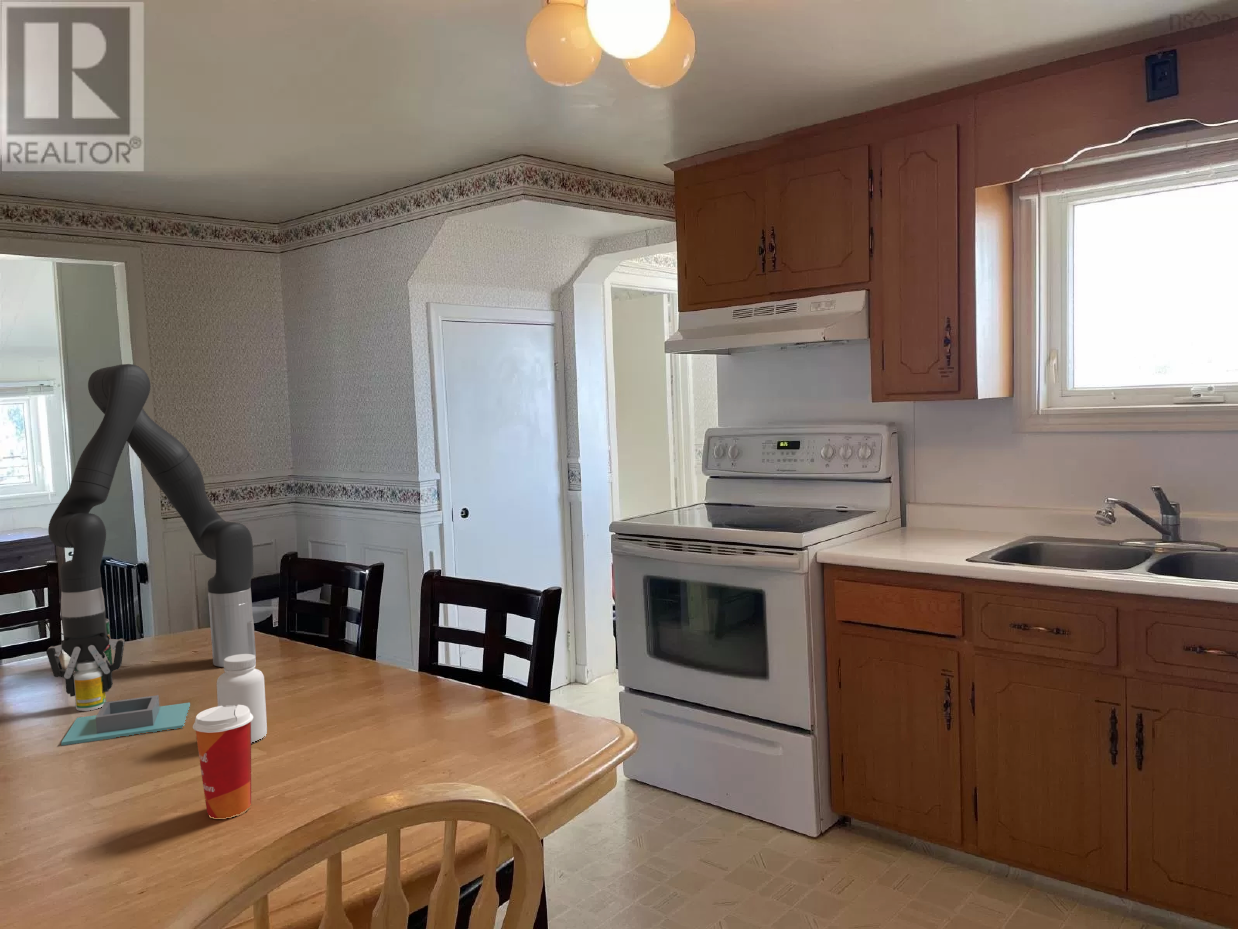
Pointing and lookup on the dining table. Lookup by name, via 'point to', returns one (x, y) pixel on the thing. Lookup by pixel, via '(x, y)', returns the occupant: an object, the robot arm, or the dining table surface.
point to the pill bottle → (244, 690)
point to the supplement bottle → (89, 686)
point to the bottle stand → (127, 720)
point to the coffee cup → (225, 758)
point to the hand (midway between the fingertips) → (90, 692)
